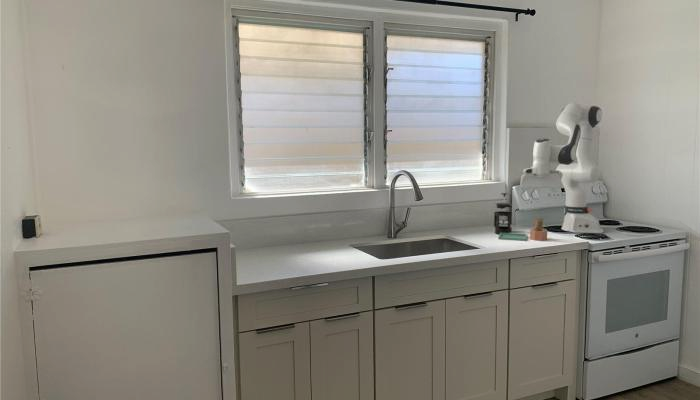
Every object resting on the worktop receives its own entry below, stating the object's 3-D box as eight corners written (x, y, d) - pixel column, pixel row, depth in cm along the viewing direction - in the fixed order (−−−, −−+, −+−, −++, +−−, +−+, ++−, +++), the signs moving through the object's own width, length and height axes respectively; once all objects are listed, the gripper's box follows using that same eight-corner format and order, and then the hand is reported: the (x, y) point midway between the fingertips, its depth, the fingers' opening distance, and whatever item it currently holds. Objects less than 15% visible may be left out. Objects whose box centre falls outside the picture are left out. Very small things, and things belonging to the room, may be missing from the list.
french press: (516, 234, 301) (517, 193, 298) (504, 235, 296) (505, 194, 293) (500, 230, 311) (502, 191, 308) (488, 232, 307) (490, 192, 304)
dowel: (542, 238, 283) (542, 218, 281) (542, 239, 279) (542, 219, 278) (534, 238, 284) (535, 217, 282) (534, 239, 281) (535, 218, 279)
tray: (526, 237, 290) (527, 234, 290) (525, 242, 277) (526, 239, 277) (500, 236, 295) (500, 232, 295) (498, 241, 282) (498, 237, 282)
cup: (546, 239, 284) (547, 228, 283) (546, 243, 276) (547, 231, 276) (530, 238, 287) (530, 227, 286) (529, 242, 279) (530, 230, 278)
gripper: (562, 170, 276) (561, 196, 278) (521, 169, 283) (520, 195, 285) (562, 171, 270) (561, 198, 272) (520, 170, 277) (519, 196, 279)
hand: (540, 196), depth 279 cm, fingers open, 8 cm apart
